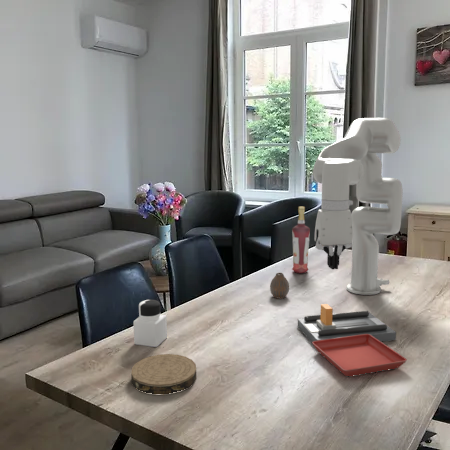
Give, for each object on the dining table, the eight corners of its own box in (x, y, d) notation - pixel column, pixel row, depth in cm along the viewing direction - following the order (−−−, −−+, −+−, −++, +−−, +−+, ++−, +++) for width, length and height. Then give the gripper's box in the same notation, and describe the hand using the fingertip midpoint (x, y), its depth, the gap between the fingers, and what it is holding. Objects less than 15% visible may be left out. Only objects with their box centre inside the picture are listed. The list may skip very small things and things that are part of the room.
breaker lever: (329, 322, 151) (329, 303, 150) (335, 329, 146) (336, 308, 145) (316, 323, 150) (317, 304, 149) (322, 330, 145) (323, 309, 144)
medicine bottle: (167, 337, 148) (166, 299, 146) (156, 347, 141) (154, 307, 139) (145, 334, 150) (144, 296, 148) (133, 344, 144) (132, 304, 141)
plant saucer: (310, 351, 138) (310, 340, 138) (368, 343, 143) (368, 332, 143) (343, 383, 121) (344, 370, 121) (407, 372, 126) (408, 360, 126)
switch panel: (369, 320, 160) (369, 307, 159) (395, 340, 144) (396, 327, 144) (297, 326, 155) (297, 313, 154) (316, 348, 140) (317, 334, 139)
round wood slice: (203, 390, 119) (203, 378, 118) (135, 401, 114) (134, 389, 114) (189, 361, 134) (188, 350, 133) (128, 369, 129) (128, 358, 129)
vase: (288, 293, 186) (289, 270, 184) (289, 300, 179) (289, 276, 177) (270, 293, 187) (270, 270, 185) (269, 299, 180) (270, 276, 178)
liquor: (310, 274, 210) (311, 208, 204) (292, 274, 210) (293, 208, 204) (307, 269, 217) (309, 205, 211) (290, 269, 217) (291, 205, 212)
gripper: (353, 202, 147) (351, 262, 150) (305, 204, 144) (304, 266, 148) (365, 206, 139) (363, 269, 143) (314, 208, 137) (313, 273, 140)
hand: (333, 267), depth 145 cm, fingers closed
